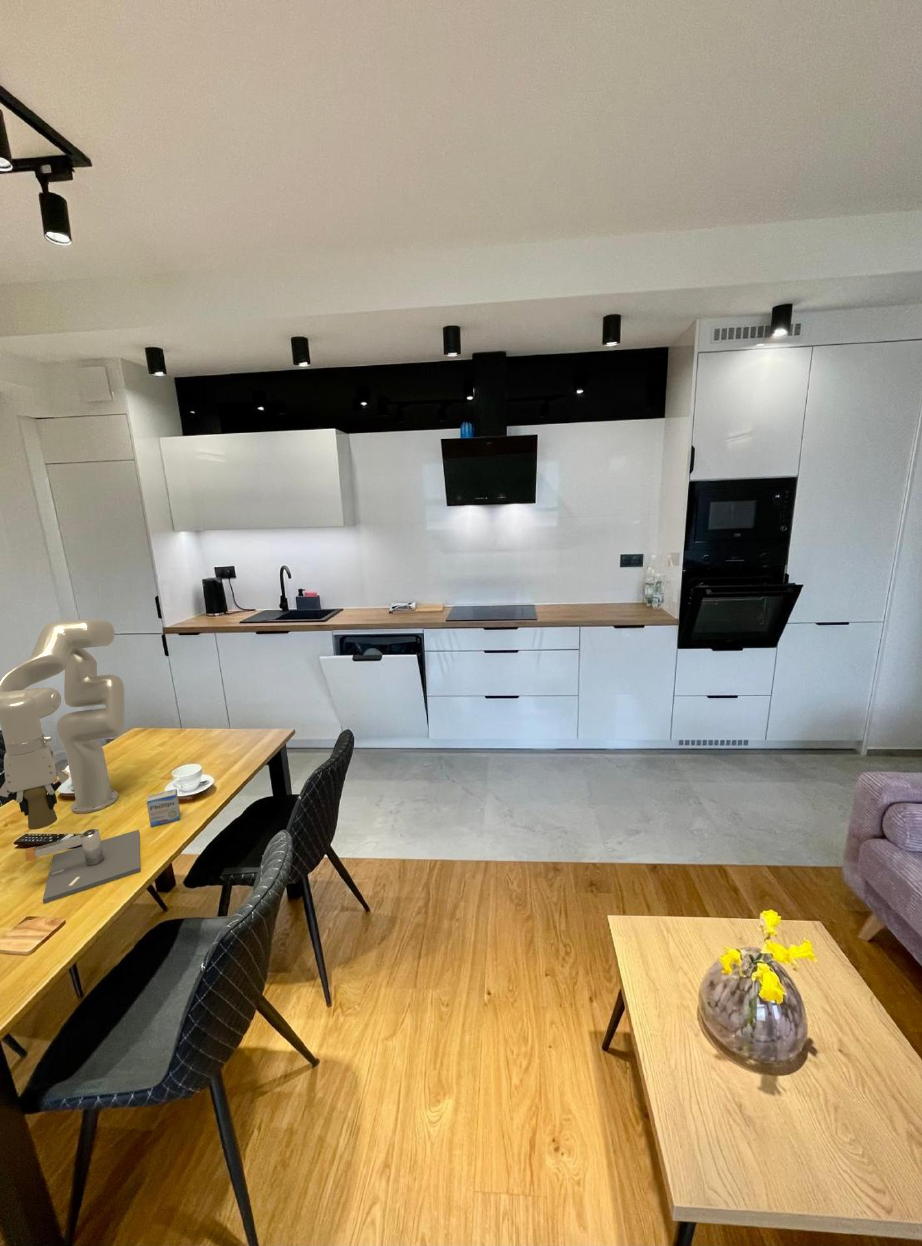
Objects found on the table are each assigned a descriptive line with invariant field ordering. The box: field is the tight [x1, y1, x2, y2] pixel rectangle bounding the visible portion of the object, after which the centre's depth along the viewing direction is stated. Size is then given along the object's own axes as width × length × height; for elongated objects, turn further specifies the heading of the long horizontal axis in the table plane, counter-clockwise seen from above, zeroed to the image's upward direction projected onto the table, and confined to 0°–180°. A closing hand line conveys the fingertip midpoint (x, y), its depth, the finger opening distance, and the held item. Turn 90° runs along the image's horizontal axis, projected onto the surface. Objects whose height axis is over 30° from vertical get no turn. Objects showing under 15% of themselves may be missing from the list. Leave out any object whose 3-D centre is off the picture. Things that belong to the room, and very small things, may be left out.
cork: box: [23, 786, 58, 830], centre depth 134 cm, size 6×6×11 cm
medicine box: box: [146, 788, 181, 828], centre depth 156 cm, size 8×4×9 cm, turn 117°
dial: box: [24, 828, 104, 865], centre depth 133 cm, size 15×4×8 cm, turn 122°
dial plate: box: [42, 829, 141, 905], centre depth 137 cm, size 20×20×2 cm
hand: (40, 809), depth 134 cm, fingers closed on cork, 4 cm apart
